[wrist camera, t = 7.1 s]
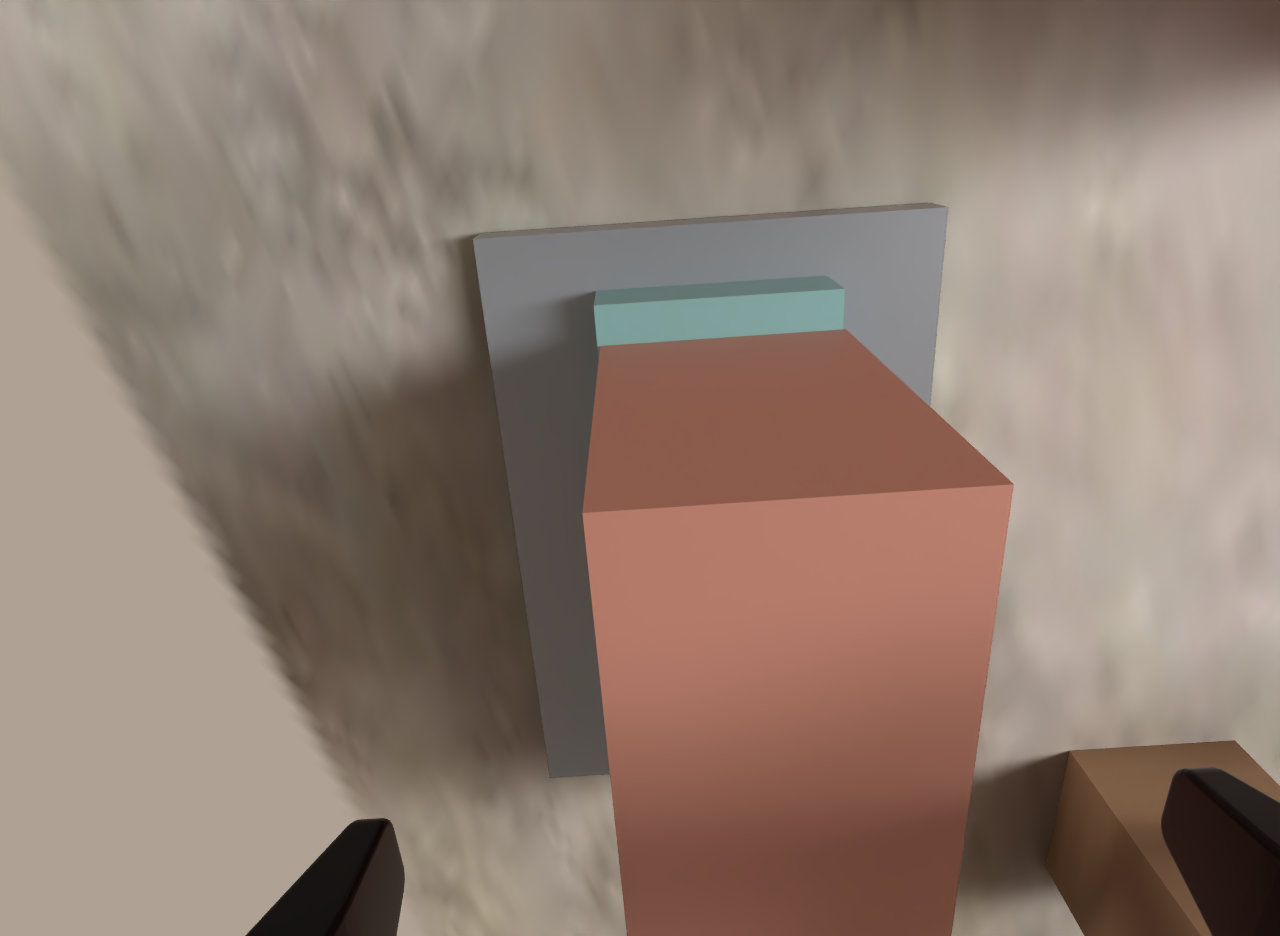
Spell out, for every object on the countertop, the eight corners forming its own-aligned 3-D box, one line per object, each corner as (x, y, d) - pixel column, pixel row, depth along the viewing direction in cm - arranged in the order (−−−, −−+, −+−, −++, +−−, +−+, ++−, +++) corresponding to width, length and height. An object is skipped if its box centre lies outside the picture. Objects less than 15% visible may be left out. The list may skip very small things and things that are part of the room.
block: (1197, 857, 21) (1359, 1064, 16) (1045, 866, 21) (1163, 1075, 16) (1233, 739, 19) (1424, 932, 15) (1068, 749, 19) (1208, 945, 15)
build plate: (887, 731, 19) (916, 797, 17) (552, 752, 19) (544, 820, 17) (931, 202, 14) (977, 214, 12) (480, 232, 14) (458, 249, 12)
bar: (827, 791, 17) (926, 1115, 11) (640, 802, 17) (647, 1131, 11) (846, 328, 13) (1014, 484, 7) (600, 345, 13) (582, 513, 7)
